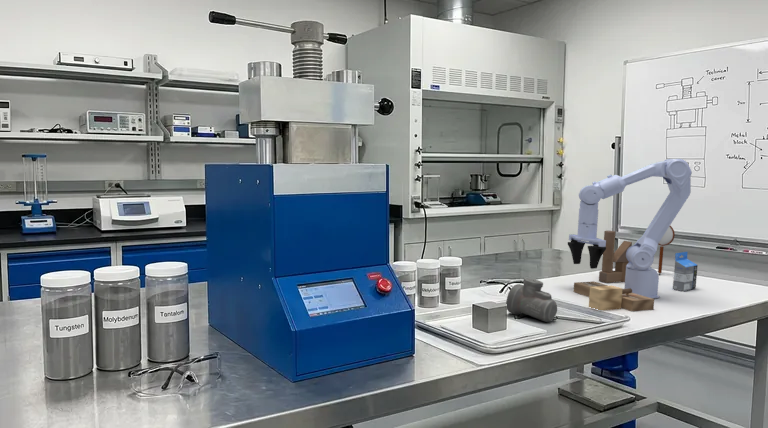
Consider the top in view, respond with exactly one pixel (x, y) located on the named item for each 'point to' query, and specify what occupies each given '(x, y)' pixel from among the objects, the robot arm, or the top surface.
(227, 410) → the top surface
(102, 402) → the top surface
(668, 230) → the magnifying glass
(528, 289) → the grey electric motor
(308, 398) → the top surface
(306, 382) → the top surface
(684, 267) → the label tape cartridge
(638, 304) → the walnut plank
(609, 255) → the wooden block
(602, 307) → the light wood pillar
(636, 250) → the robot arm
